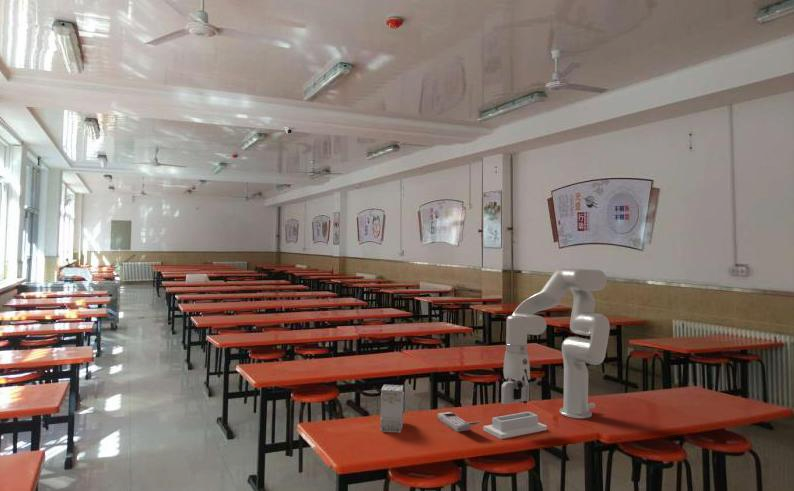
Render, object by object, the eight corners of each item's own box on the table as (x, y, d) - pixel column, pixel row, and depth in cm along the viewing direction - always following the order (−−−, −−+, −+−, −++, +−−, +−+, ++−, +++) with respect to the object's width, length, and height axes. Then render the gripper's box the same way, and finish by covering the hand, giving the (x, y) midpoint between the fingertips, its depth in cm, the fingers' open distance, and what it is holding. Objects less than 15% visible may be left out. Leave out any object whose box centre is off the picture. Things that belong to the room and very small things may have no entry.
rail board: (528, 421, 198) (528, 409, 198) (546, 429, 189) (546, 416, 189) (483, 430, 187) (483, 416, 187) (500, 439, 178) (501, 424, 179)
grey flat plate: (501, 403, 186) (501, 382, 186) (525, 399, 192) (525, 378, 192) (504, 404, 185) (504, 383, 185) (529, 400, 190) (529, 379, 190)
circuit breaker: (404, 419, 197) (404, 381, 198) (400, 432, 183) (401, 390, 184) (385, 418, 198) (385, 380, 198) (380, 431, 184) (381, 390, 184)
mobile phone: (467, 422, 178) (434, 403, 201) (467, 439, 178) (434, 418, 201) (482, 421, 180) (447, 401, 203) (481, 438, 180) (447, 416, 203)
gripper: (538, 351, 184) (538, 402, 183) (509, 344, 197) (509, 392, 197) (523, 353, 180) (522, 405, 180) (494, 345, 194) (493, 394, 193)
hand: (515, 397), depth 188 cm, fingers closed on grey flat plate, 1 cm apart
